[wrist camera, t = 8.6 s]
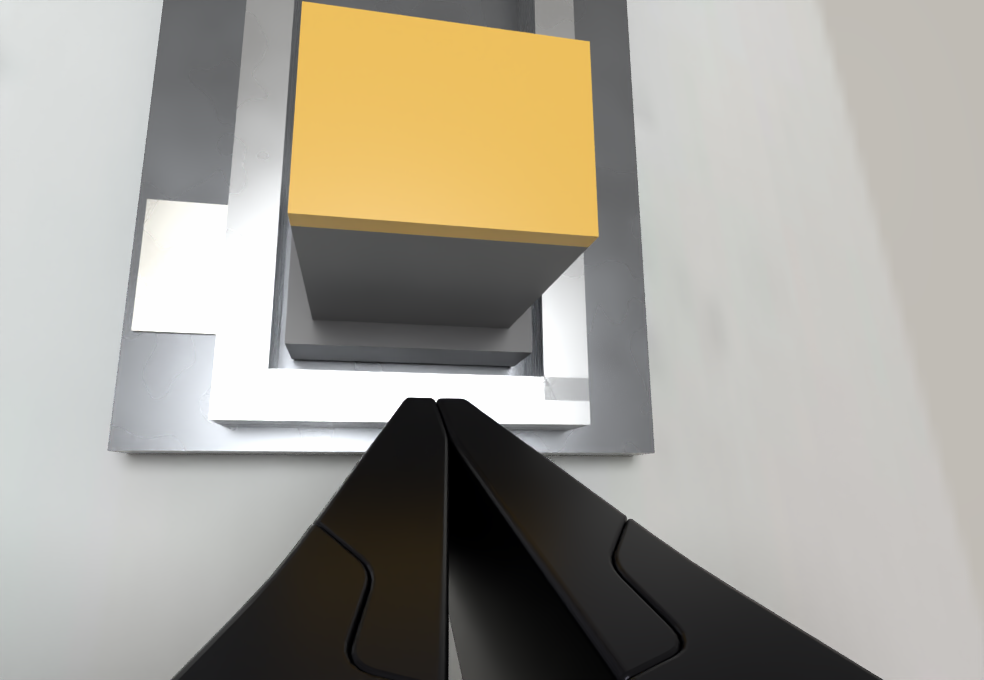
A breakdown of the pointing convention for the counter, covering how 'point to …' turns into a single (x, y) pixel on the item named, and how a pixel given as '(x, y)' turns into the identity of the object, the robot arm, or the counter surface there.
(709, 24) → the counter surface
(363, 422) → the grey shallow rectangular piece
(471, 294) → the breaker handle
